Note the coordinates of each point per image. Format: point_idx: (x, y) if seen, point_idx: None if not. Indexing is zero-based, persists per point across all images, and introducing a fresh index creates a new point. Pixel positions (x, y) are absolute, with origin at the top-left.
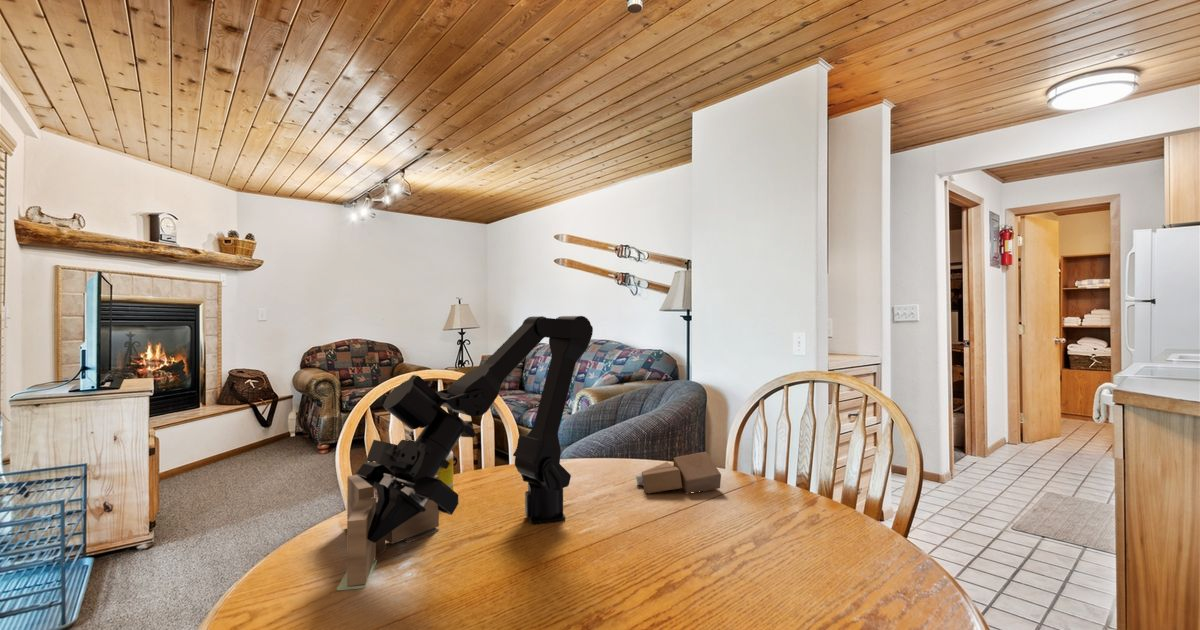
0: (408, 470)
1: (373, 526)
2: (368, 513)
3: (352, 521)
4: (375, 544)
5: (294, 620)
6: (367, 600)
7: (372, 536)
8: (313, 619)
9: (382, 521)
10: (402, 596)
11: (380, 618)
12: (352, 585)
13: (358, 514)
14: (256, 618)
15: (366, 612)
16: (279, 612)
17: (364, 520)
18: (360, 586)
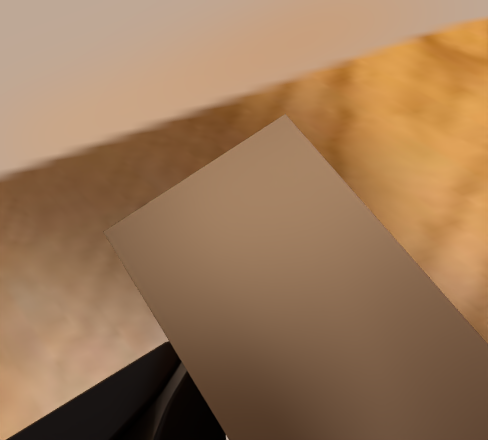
0: None
1: (167, 409)
2: (228, 430)
3: (238, 150)
4: None
5: (287, 80)
6: None
7: (153, 353)
8: (232, 103)
9: (20, 431)
10: (18, 323)
11: (17, 180)
12: None
13: (341, 337)
14: (416, 46)
15: (88, 190)
16: (381, 91)
17: (121, 225)
18: None
